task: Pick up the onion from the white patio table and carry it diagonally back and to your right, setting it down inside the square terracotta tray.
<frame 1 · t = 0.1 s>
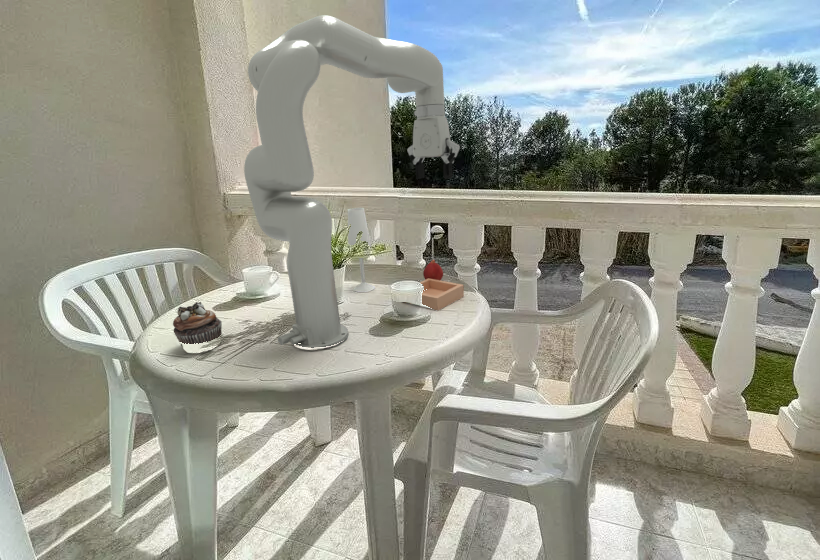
hand: (433, 178, 118), 31 cm above the table, tool pointing down, fingers open, 9 cm apart
white table lamp: (364, 288, 128), on the table
tray: (433, 299, 115), on the table
cupcake: (203, 346, 96), on the table
onion: (433, 286, 126), on the table
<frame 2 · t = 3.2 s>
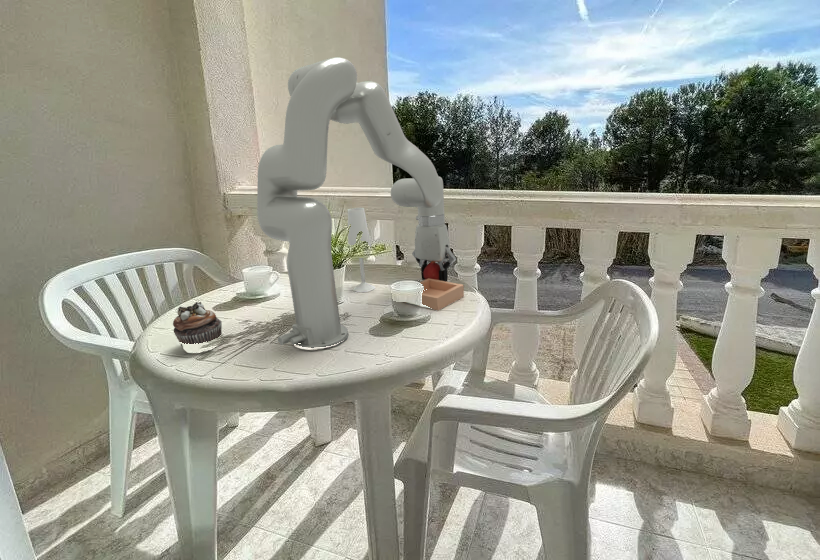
hand: (434, 279, 126), 2 cm above the table, tool pointing down, fingers closed on onion, 5 cm apart
onion: (433, 286, 126), on the table, touching gripper
everything else where it was.
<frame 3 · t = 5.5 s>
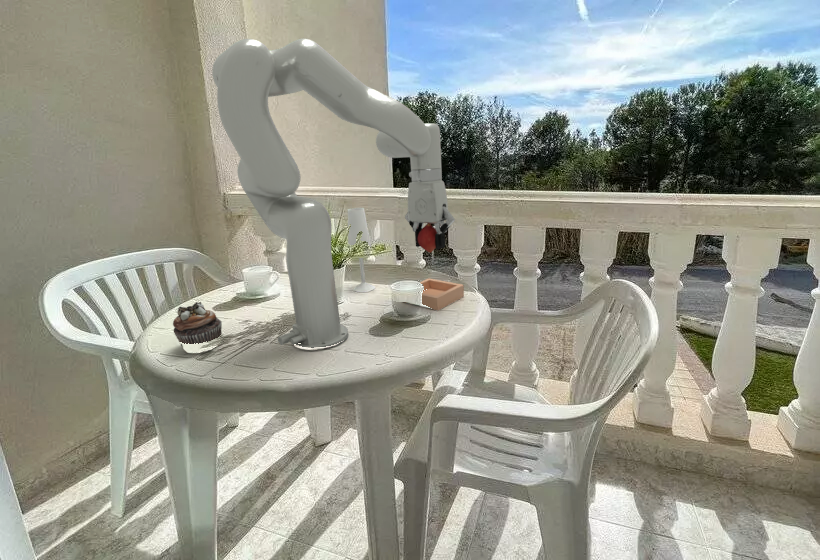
hand: (430, 246, 110), 15 cm above the table, tool pointing down, fingers closed on onion, 5 cm apart
onion: (429, 253, 110), point 13 cm above the table, touching gripper
everything else where it was.
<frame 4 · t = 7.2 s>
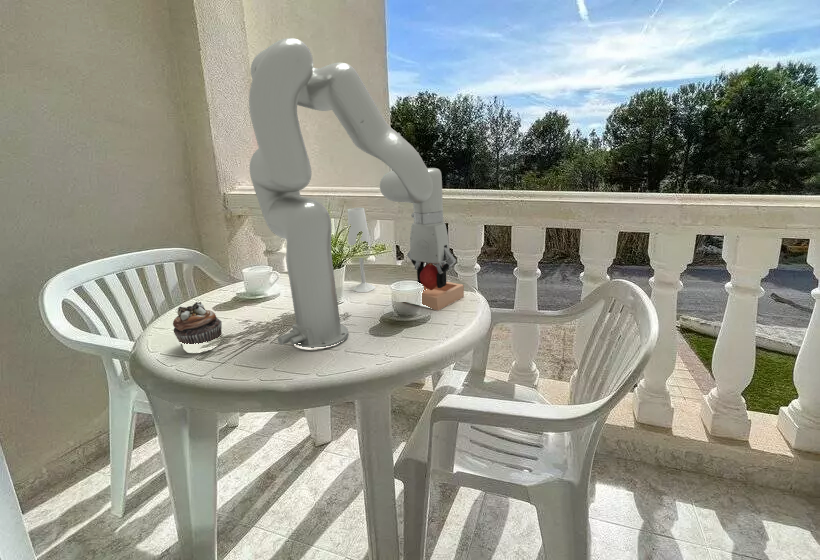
hand: (431, 284, 113), 4 cm above the table, tool pointing down, fingers closed on onion, 5 cm apart
onion: (431, 290, 113), point 3 cm above the table, touching gripper
everything else where it was.
when the fingers open (4 cm above the table, at t = 7.8 s): onion drops 2 cm, resting on tray.
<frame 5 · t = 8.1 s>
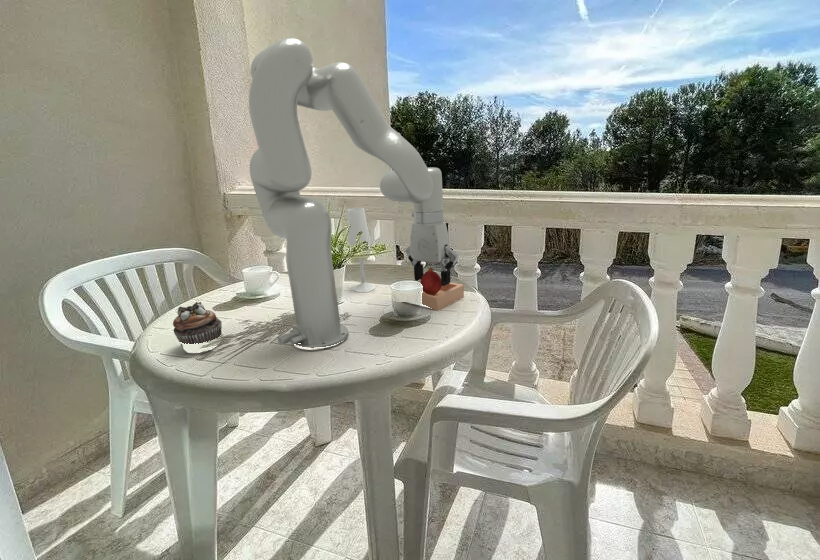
hand: (432, 281, 113), 5 cm above the table, tool pointing down, fingers open, 8 cm apart
onion: (432, 297, 114), point 1 cm above the table, touching tray
everything else where it was.
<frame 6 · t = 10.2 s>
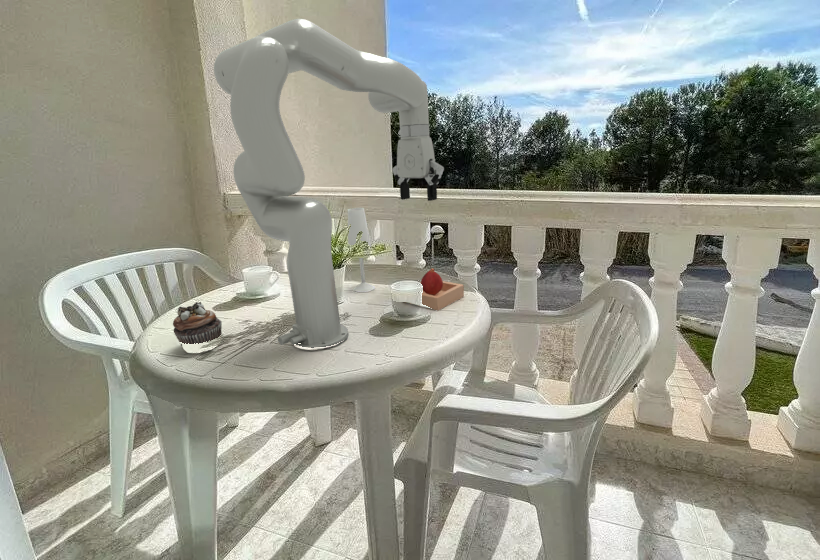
hand: (418, 199, 114), 26 cm above the table, tool pointing down, fingers open, 9 cm apart
nothing on the table moved.
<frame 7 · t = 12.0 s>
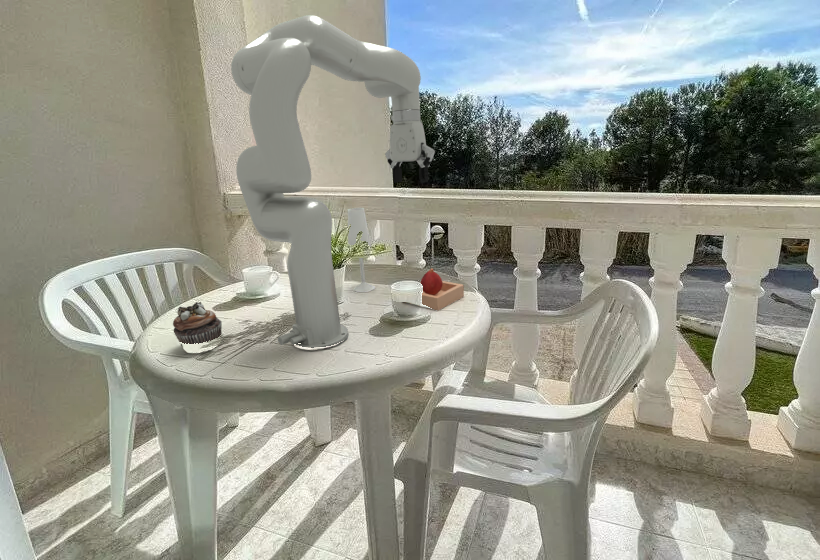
hand: (410, 182, 120), 30 cm above the table, tool pointing down, fingers open, 9 cm apart
nothing on the table moved.
at the end: onion inside the target area on the tray (0.6 cm from its centre), point 0.8 cm above the tray's base; the gripper is holding nothing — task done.
